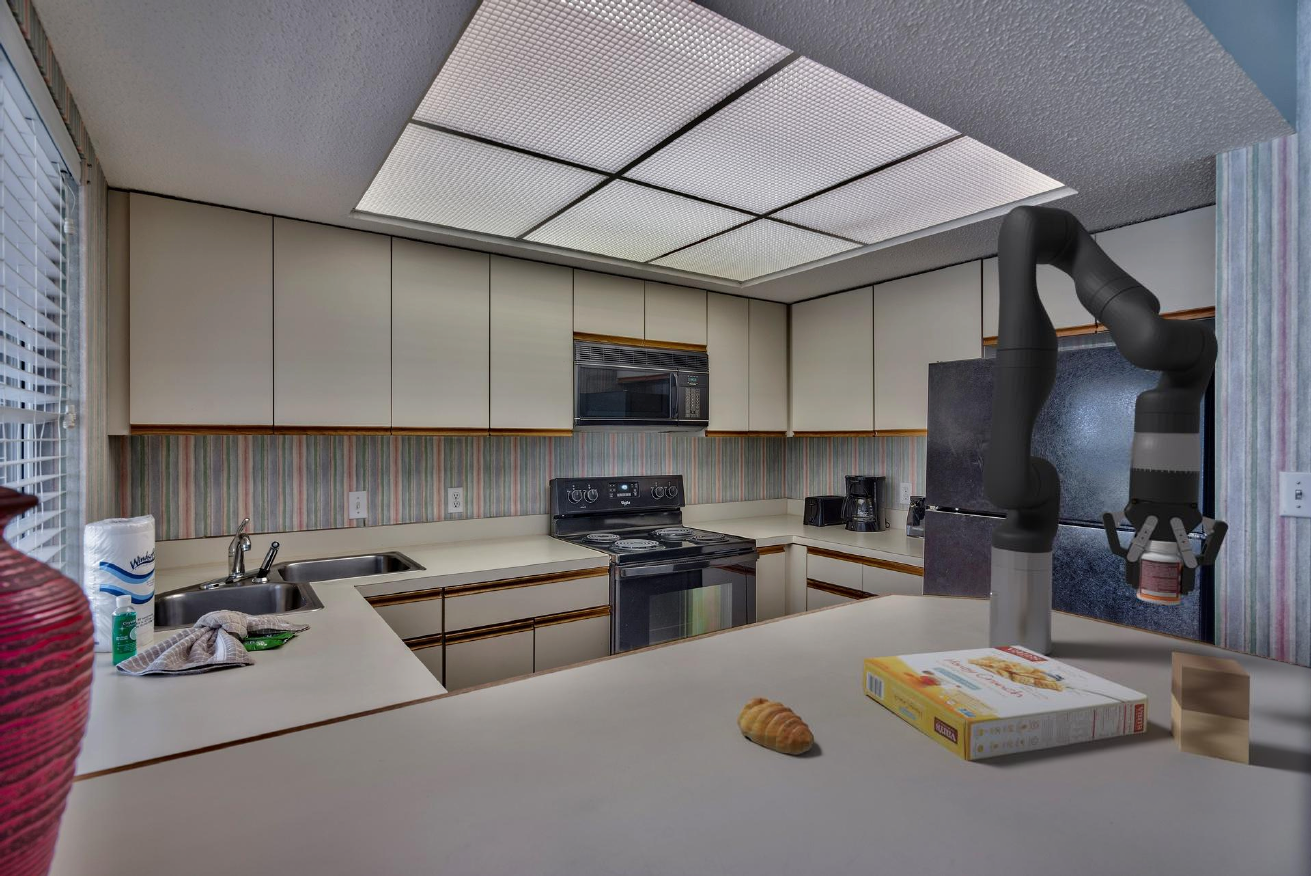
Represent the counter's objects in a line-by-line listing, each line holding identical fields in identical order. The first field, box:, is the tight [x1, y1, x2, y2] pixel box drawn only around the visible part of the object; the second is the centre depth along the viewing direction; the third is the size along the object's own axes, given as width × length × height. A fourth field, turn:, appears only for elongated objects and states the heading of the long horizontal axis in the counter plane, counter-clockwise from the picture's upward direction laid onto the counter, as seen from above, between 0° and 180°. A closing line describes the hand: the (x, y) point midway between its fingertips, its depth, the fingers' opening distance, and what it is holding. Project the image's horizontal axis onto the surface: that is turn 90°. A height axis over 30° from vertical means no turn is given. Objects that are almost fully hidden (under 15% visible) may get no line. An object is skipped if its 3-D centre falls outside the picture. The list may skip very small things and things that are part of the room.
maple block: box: [1170, 693, 1250, 766], centre depth 77 cm, size 6×6×5 cm
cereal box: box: [862, 646, 1149, 762], centre depth 87 cm, size 20×6×28 cm
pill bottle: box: [1136, 540, 1182, 606], centre depth 89 cm, size 5×5×8 cm
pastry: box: [736, 696, 815, 756], centre depth 78 cm, size 9×7×4 cm
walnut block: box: [1170, 651, 1251, 722], centre depth 77 cm, size 6×6×5 cm
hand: (1158, 590), depth 89 cm, fingers closed on pill bottle, 4 cm apart
